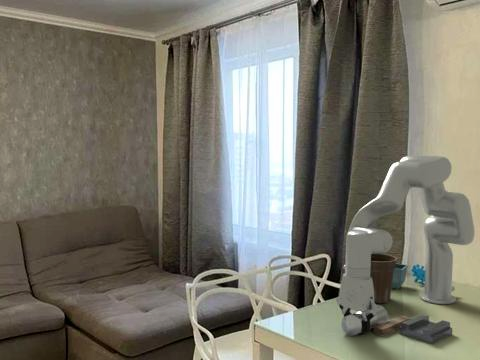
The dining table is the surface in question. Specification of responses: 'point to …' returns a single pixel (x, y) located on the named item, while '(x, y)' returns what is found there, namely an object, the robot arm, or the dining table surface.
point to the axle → (354, 321)
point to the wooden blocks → (390, 325)
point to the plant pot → (382, 276)
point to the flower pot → (399, 275)
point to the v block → (425, 329)
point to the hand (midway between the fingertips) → (356, 328)
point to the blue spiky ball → (418, 273)
